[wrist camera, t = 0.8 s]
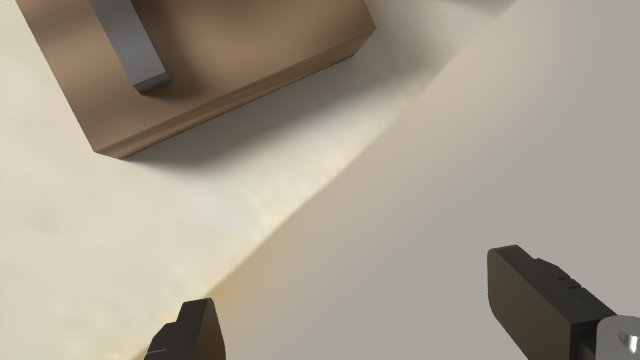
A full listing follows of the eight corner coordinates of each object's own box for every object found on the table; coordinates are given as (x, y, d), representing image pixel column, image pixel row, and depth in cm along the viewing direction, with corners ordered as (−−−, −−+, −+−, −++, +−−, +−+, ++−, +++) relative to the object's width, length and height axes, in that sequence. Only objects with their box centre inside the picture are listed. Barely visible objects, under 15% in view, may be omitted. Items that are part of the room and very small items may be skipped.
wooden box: (30, -14, 31) (-8, -53, 26) (278, -102, 35) (285, -150, 30) (120, 159, 32) (99, 153, 27) (352, 55, 36) (371, 34, 31)
